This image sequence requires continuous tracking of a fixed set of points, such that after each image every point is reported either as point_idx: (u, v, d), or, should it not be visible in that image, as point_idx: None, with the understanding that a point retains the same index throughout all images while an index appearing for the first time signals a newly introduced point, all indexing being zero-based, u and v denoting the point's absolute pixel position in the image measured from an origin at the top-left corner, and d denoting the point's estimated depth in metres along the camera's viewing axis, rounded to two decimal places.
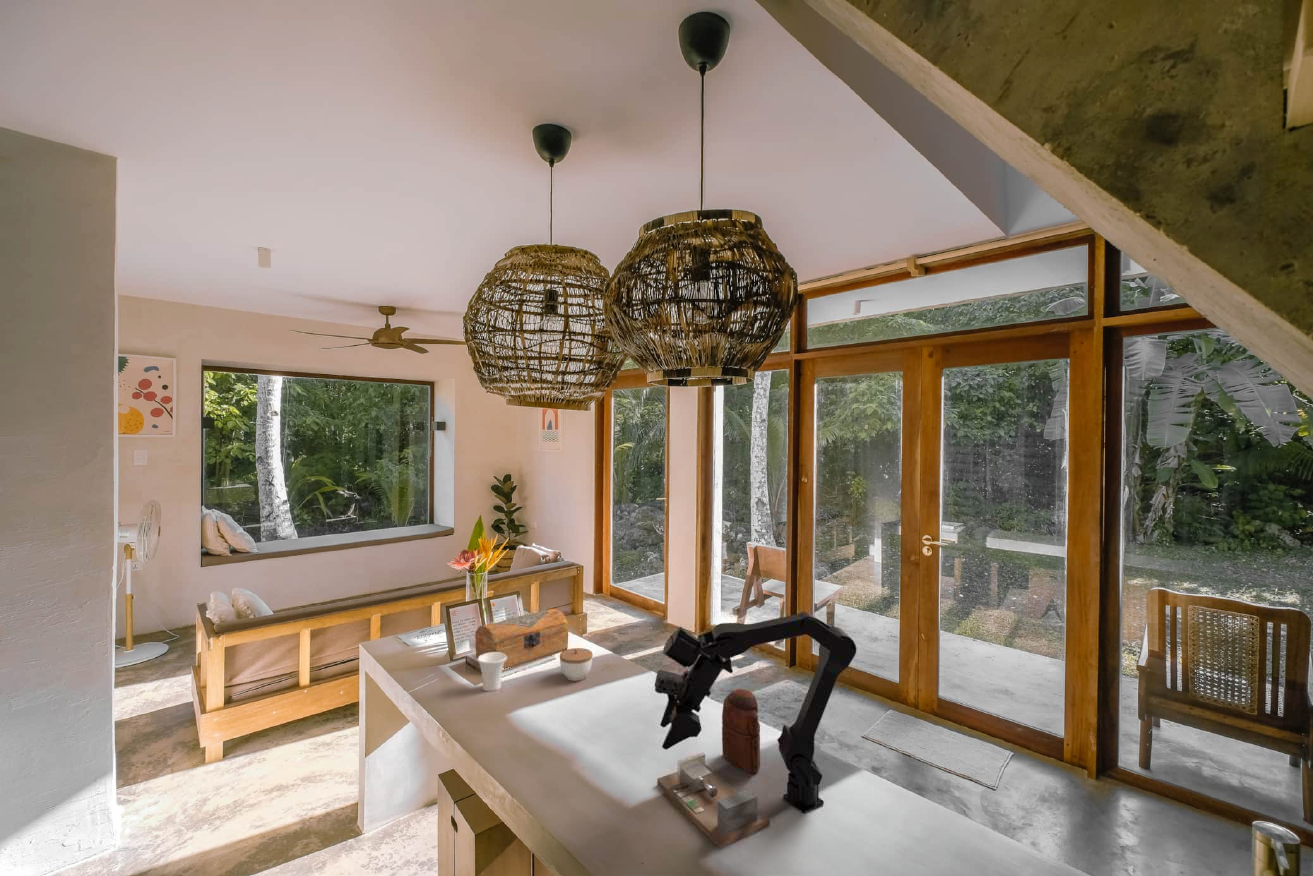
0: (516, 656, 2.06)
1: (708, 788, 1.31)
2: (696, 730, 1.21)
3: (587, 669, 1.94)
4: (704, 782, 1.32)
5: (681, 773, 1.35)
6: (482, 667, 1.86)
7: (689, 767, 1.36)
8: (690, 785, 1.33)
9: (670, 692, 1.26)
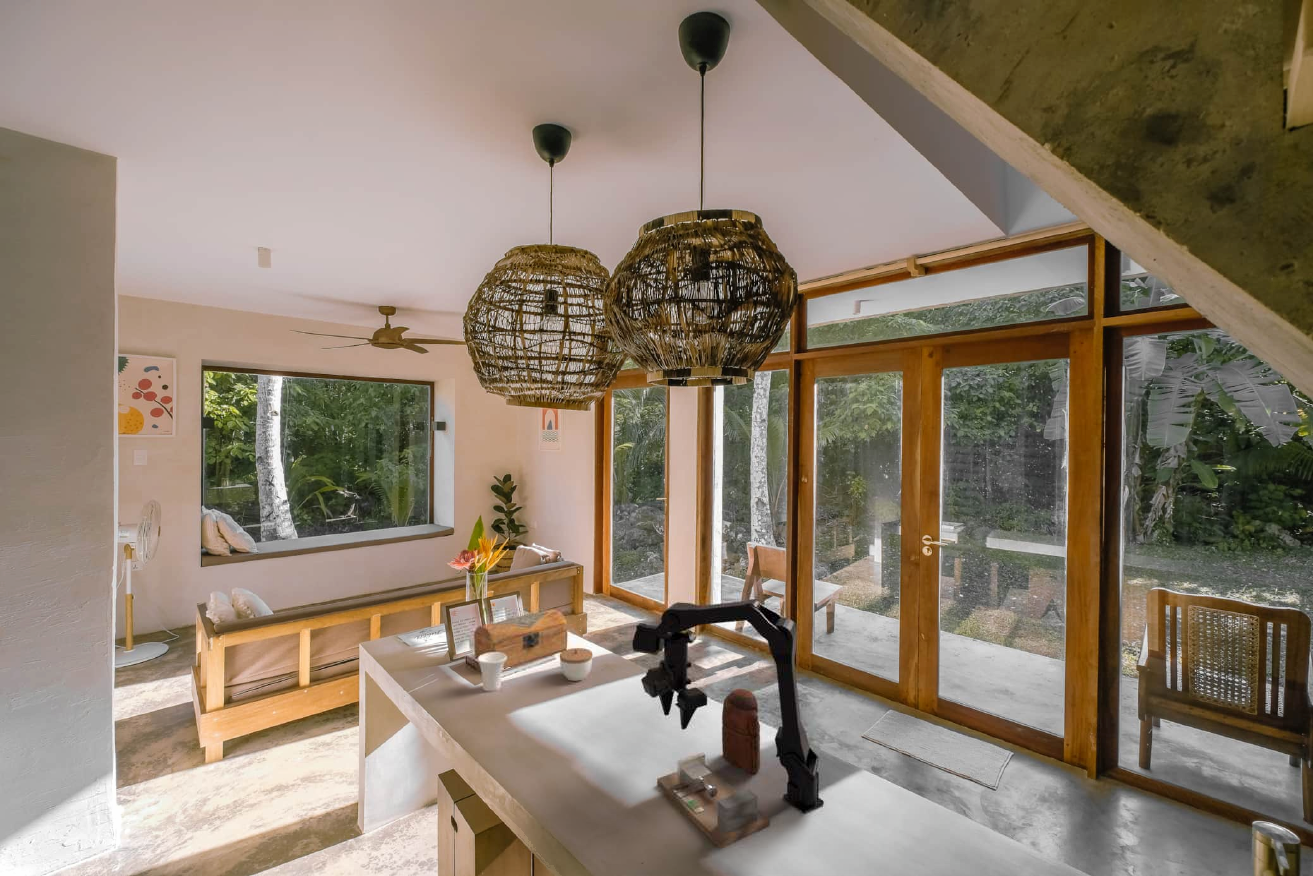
0: (515, 656, 2.05)
1: (708, 788, 1.31)
2: (705, 699, 1.36)
3: (587, 669, 1.94)
4: (704, 782, 1.32)
5: (681, 773, 1.35)
6: (482, 667, 1.86)
7: (689, 767, 1.36)
8: (690, 785, 1.33)
9: (666, 689, 1.36)
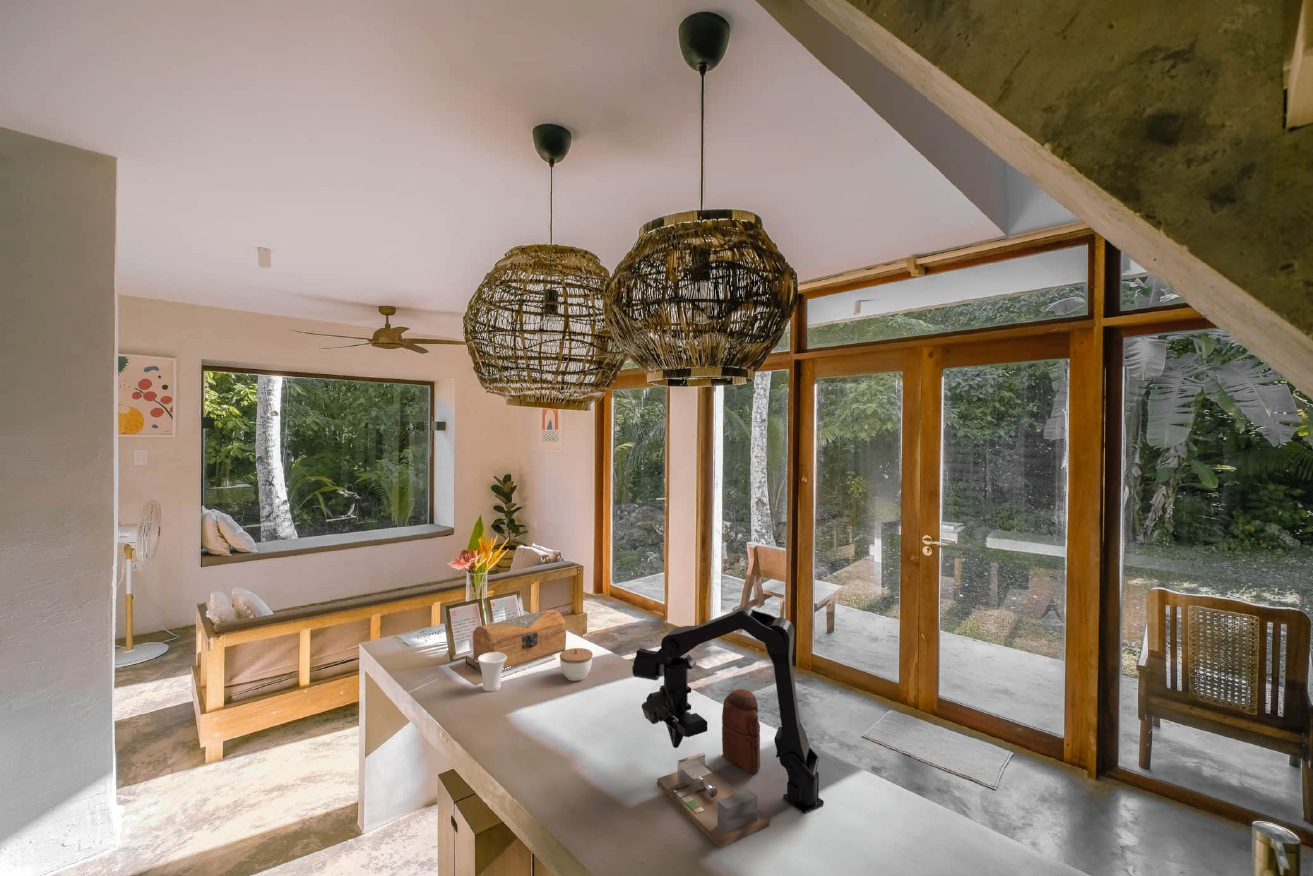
0: (514, 657, 2.05)
1: (708, 788, 1.31)
2: (705, 726, 1.36)
3: (587, 669, 1.94)
4: (704, 782, 1.32)
5: (681, 773, 1.35)
6: (482, 667, 1.86)
7: (689, 767, 1.36)
8: (690, 785, 1.33)
9: (666, 716, 1.37)
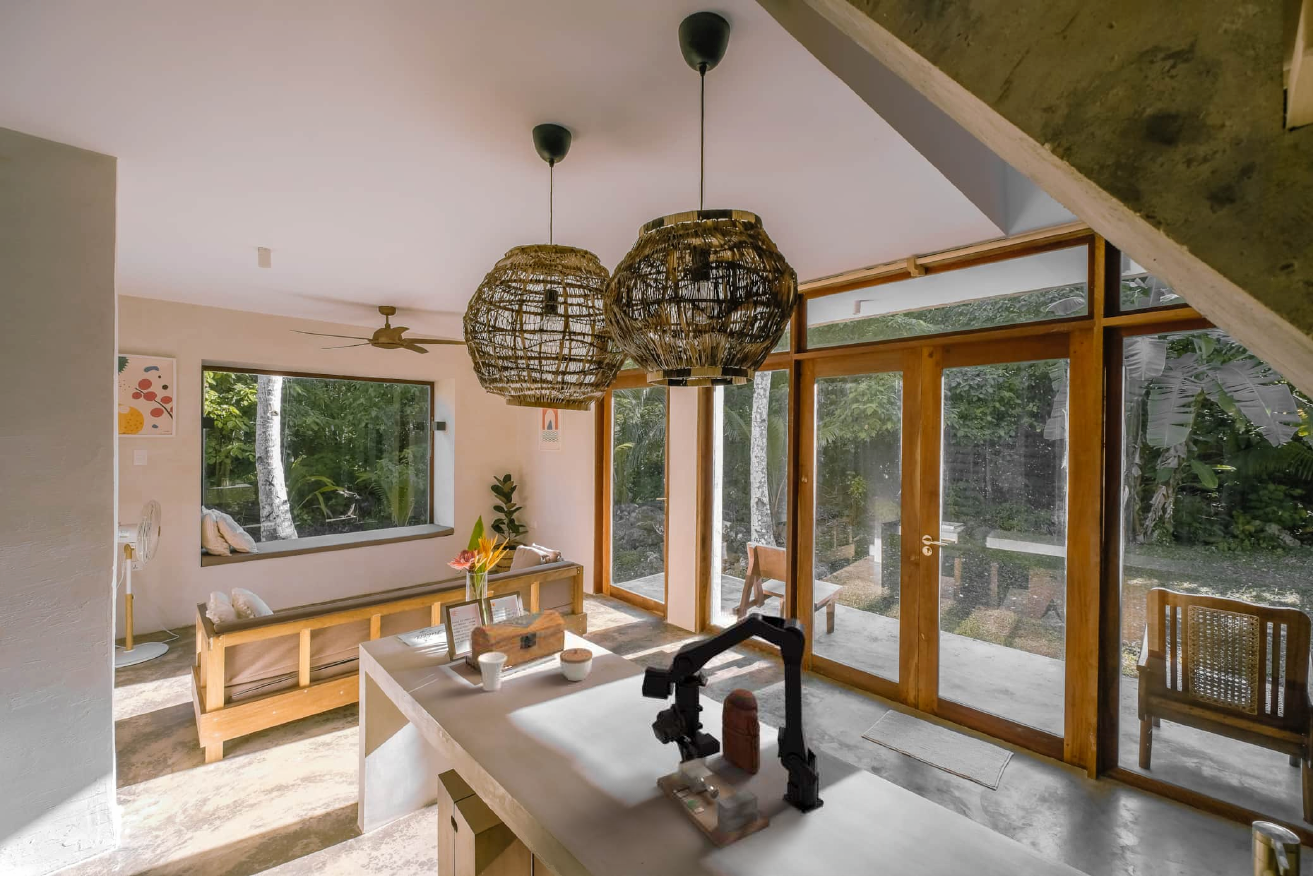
0: (512, 657, 2.05)
1: (709, 789, 1.30)
2: (718, 747, 1.32)
3: (587, 669, 1.94)
4: (705, 783, 1.32)
5: (682, 774, 1.35)
6: (482, 667, 1.86)
7: (690, 768, 1.36)
8: (691, 786, 1.33)
9: (677, 736, 1.32)
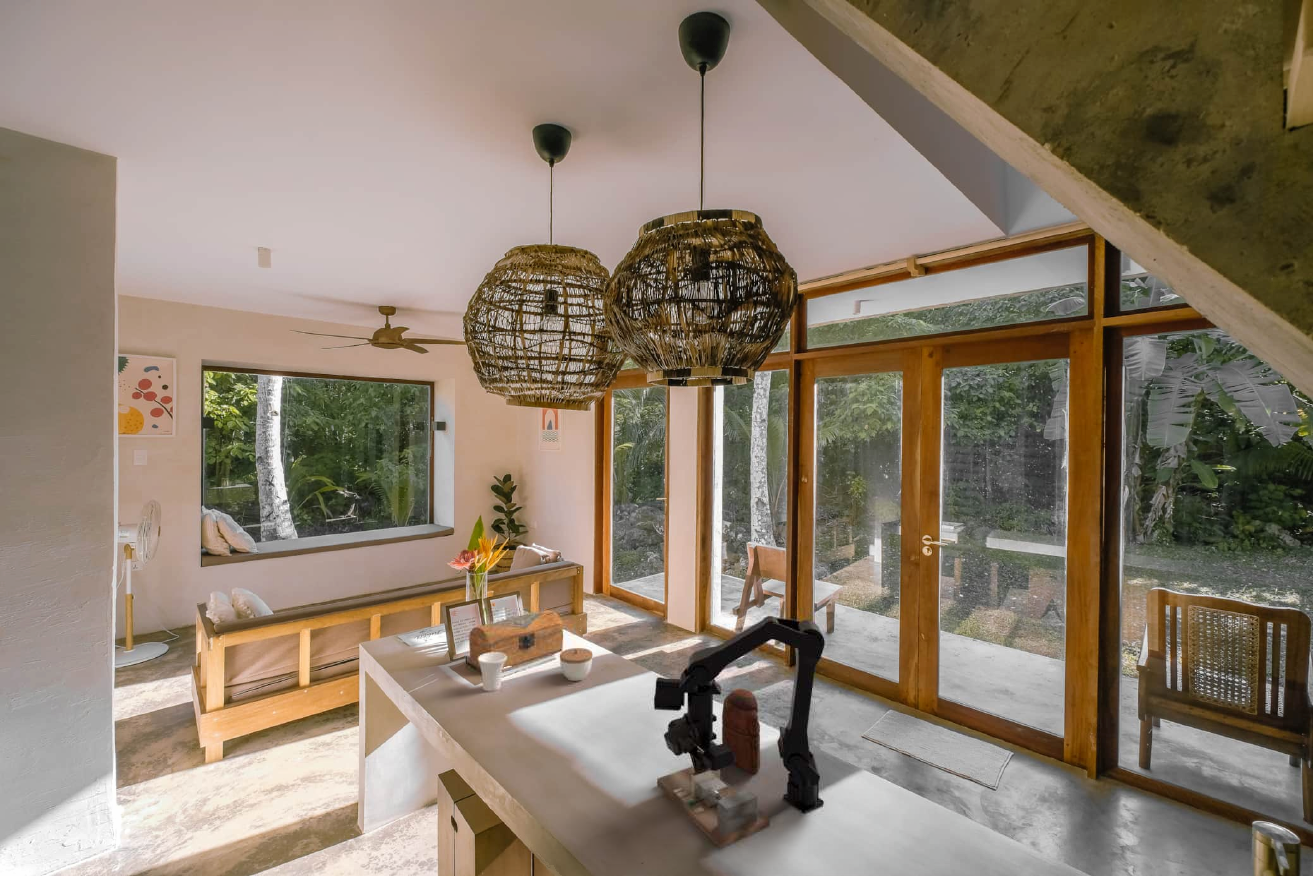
0: (511, 657, 2.04)
1: None
2: (733, 758, 1.27)
3: (587, 669, 1.94)
4: (720, 796, 1.27)
5: (695, 786, 1.30)
6: (482, 667, 1.86)
7: (704, 780, 1.31)
8: (705, 799, 1.28)
9: (691, 747, 1.28)
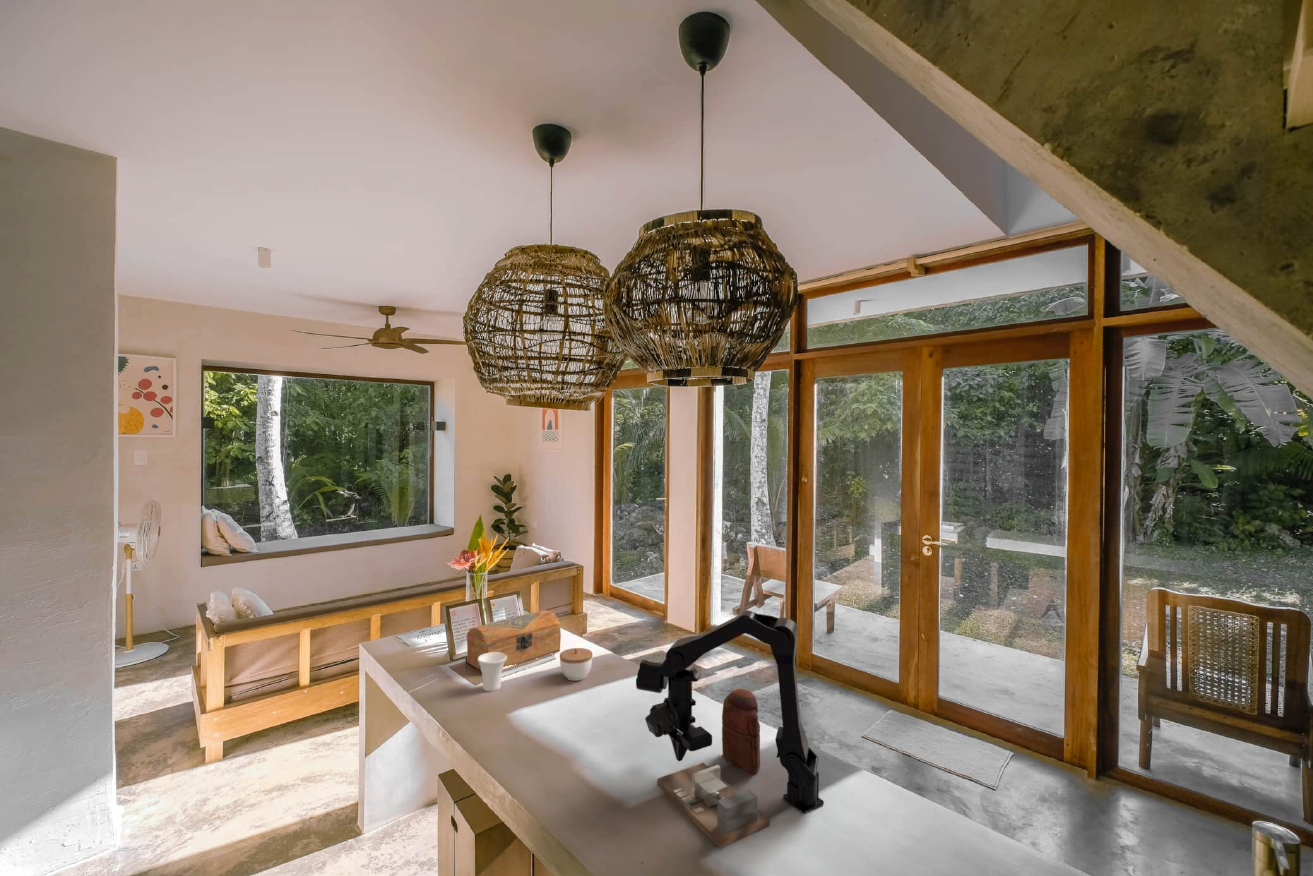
0: (508, 658, 2.04)
1: None
2: (710, 740, 1.34)
3: (587, 669, 1.94)
4: (720, 796, 1.27)
5: (696, 787, 1.30)
6: (482, 667, 1.86)
7: (704, 780, 1.31)
8: (705, 799, 1.28)
9: (670, 729, 1.35)
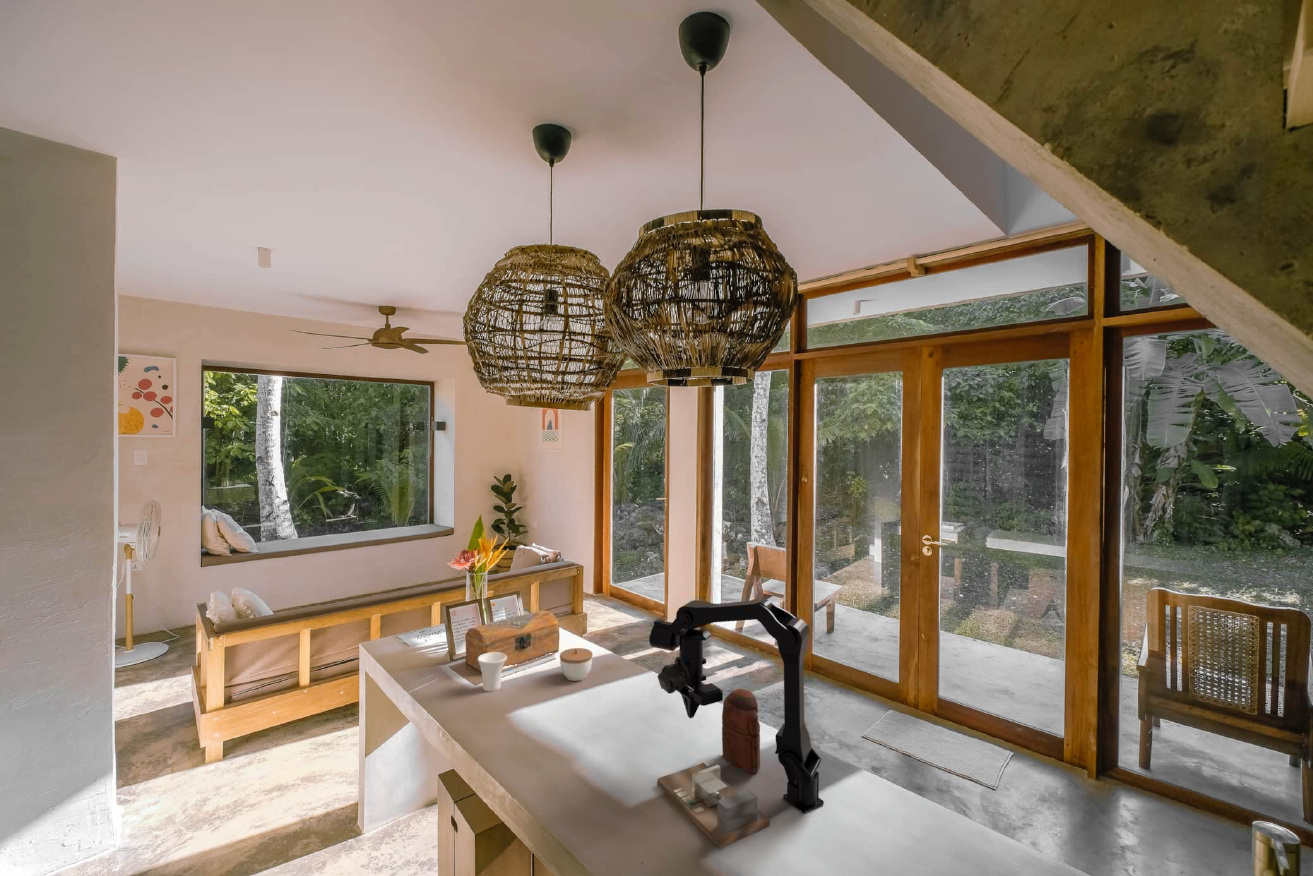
0: (507, 658, 2.04)
1: None
2: (721, 695, 1.38)
3: (587, 669, 1.94)
4: (720, 796, 1.27)
5: (696, 787, 1.30)
6: (482, 667, 1.86)
7: (704, 780, 1.31)
8: (705, 799, 1.28)
9: (682, 685, 1.39)
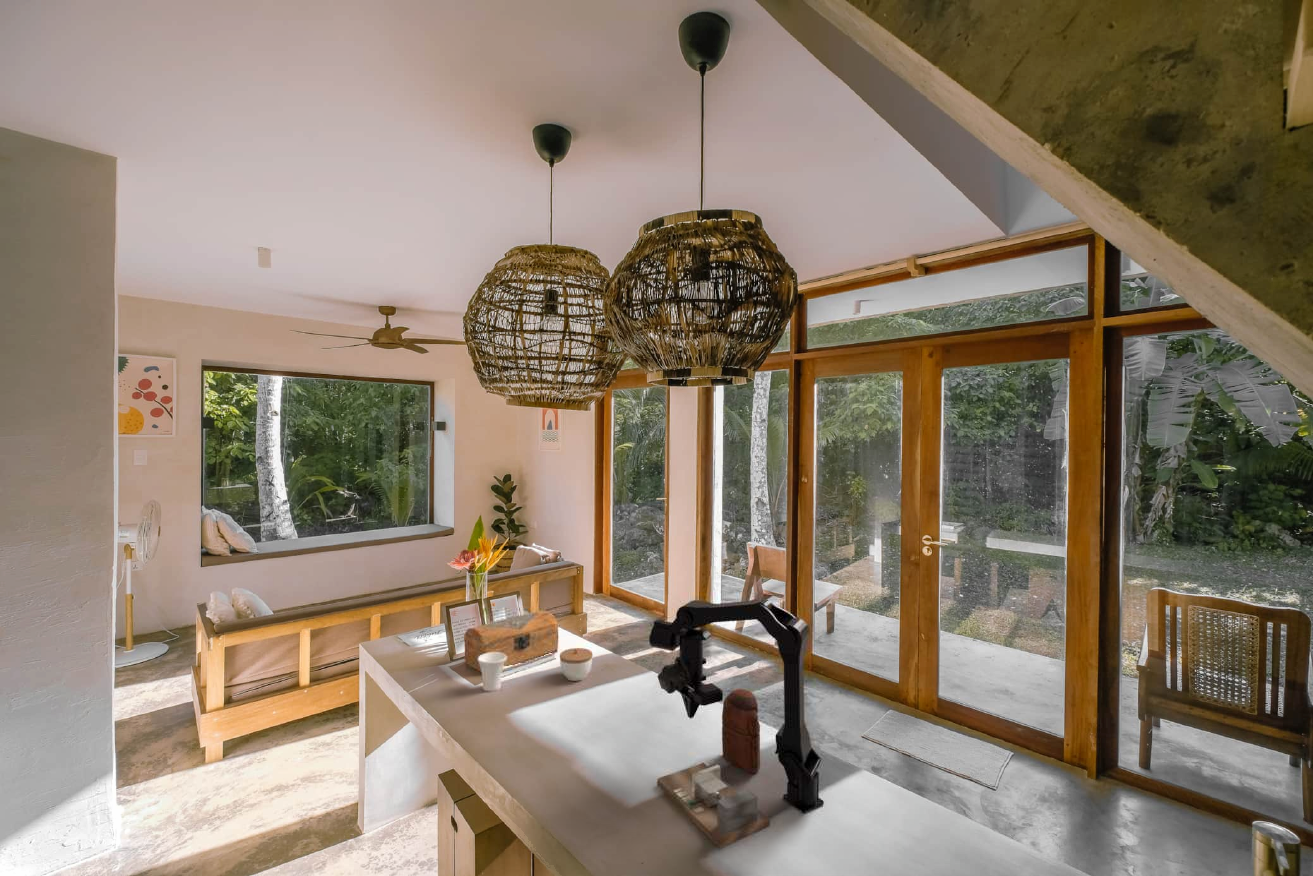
0: None
1: None
2: (721, 695, 1.38)
3: (587, 669, 1.94)
4: (720, 796, 1.27)
5: (696, 787, 1.30)
6: (482, 667, 1.86)
7: (704, 780, 1.31)
8: (705, 799, 1.28)
9: (682, 685, 1.39)
